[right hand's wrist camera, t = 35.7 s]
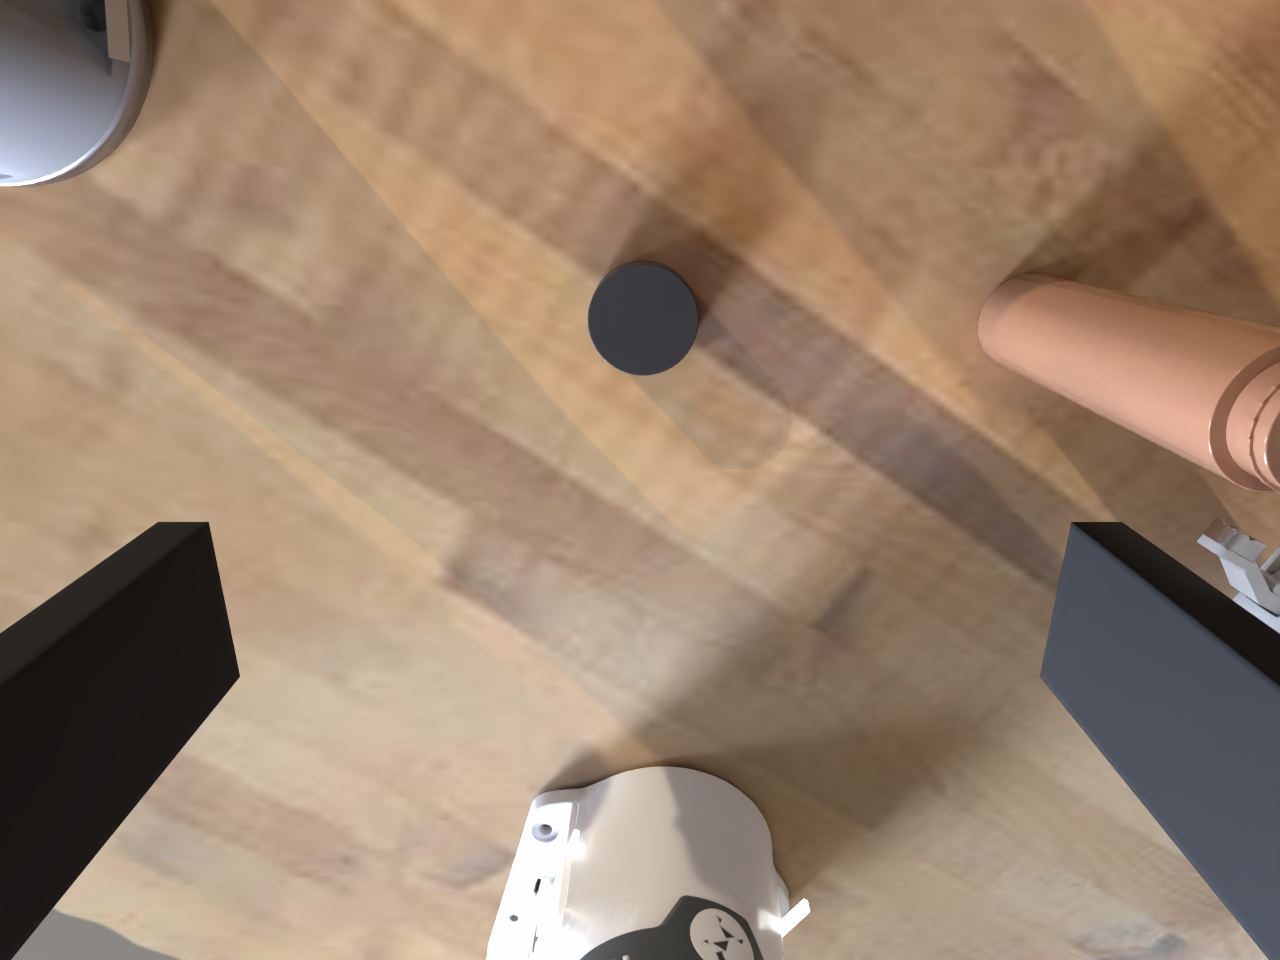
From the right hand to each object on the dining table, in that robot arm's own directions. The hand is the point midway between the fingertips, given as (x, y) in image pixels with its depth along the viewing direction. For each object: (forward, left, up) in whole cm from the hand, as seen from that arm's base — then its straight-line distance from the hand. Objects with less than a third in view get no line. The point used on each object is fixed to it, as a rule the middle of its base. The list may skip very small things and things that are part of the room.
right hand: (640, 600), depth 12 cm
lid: (0, 0, -29) cm, 29 cm away
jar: (+15, -13, -30) cm, 36 cm away
